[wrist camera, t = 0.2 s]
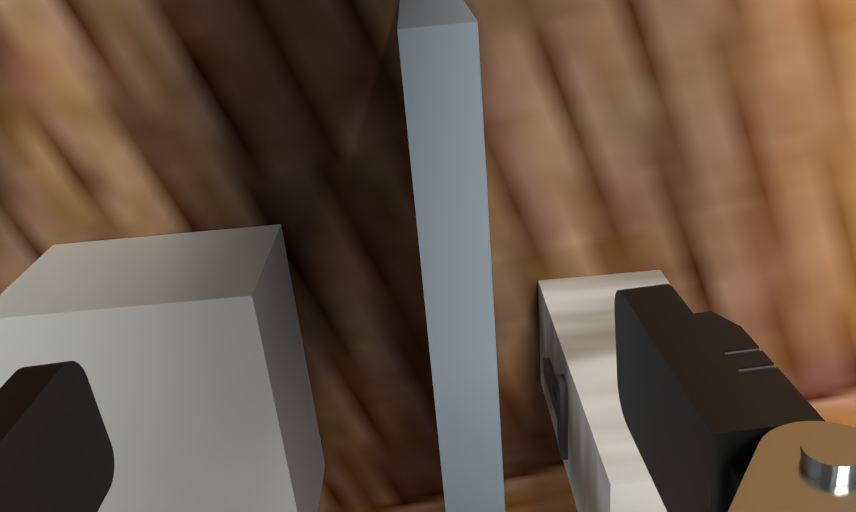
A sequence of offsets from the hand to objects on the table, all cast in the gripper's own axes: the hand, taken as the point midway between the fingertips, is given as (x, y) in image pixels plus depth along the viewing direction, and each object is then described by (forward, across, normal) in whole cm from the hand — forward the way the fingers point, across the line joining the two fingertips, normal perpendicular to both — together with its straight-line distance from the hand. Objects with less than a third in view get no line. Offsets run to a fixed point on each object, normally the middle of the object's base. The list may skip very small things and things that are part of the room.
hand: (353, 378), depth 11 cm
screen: (+18, -2, +8) cm, 20 cm away
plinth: (+18, +9, +9) cm, 22 cm away
